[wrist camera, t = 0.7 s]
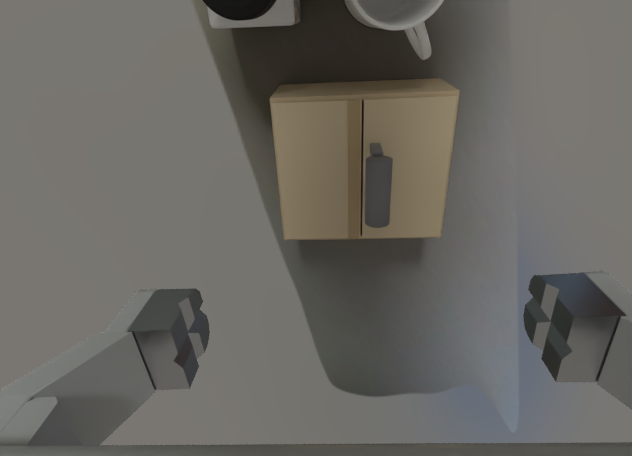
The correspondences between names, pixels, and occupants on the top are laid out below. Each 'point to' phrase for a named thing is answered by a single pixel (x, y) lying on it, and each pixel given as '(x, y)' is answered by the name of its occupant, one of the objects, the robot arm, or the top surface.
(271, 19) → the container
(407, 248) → the top surface
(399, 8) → the mug
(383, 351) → the top surface
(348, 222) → the carton
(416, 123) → the near flap
